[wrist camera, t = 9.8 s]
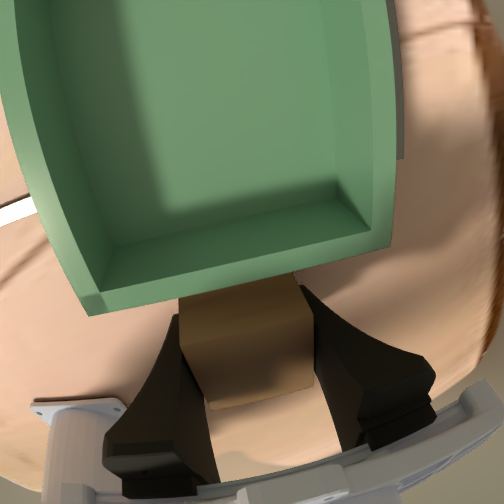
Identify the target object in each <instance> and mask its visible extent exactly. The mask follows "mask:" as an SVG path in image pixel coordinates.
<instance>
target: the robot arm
mask: <svg viewBox="0 0 504 504" xmlns="http://www.w3.org/2000/svg"><path fill="white" fill-rule="evenodd" d="M299 287H300V289H301V291H302V293H303V295H304V297H305V299H306V301H307V303H308V305H309V307H310V309H311V311H312V313H313V320H314V371H315V373H316V375H317V377H318V380H319V382H320V384H321V387H322V390H323V393H324V396H325V398H326V401H327V404H328V407H329V410H330V413H331V416H332V419H333V422H334V425H335V428H336V432H337V435H338V438H339V442H340V445H341V448H342V453H340V454H337V455H334V456H331V457H328V458H324V459H321V460H318V461H315V462H312V463H308V464H305V465H301V466H298V467H294V468H290V469H286V470H282V471H278V472H274V473H270V474H265V475H261V476H257V477H251V478H246V479H241V480H236V481H229V482H223V483H221V481H220V477H219V474H218V470H217V466H216V462H215V458H214V453H213V449H212V444H211V440H210V435H209V430H208V424H207V419H206V413H205V405H204V395H203V393H202V391H201V389H200V387H199V385H198V383H197V381H196V379H195V377H194V375H193V373H192V371H191V369H190V367H189V365H188V362H187V360H186V358H185V356H184V354H183V352H182V350H181V348H180V338H179V314H174V315H173V316H172V319H171V323H170V326H169V329H168V332H167V335H166V338H165V340H164V343H163V346H162V348H161V351H160V353H159V355H158V358H157V360H156V362H155V364H154V366H153V369H152V371H151V372H150V374H149V376H148V378H147V380H146V382H145V383H144V385H143V387H142V388H141V390H140V391H139V393H138V395H137V396H136V398H135V399H134V401H133V402H132V403H131V405H130V406H129V407H128V408H126V407H125V405H124V404H123V403H122V402H121V401H120V400H119V399H117V398H101V399H90V400H77V401H60V402H33V403H31V404H30V409H31V410H32V411H33V412H34V413H35V414H36V415H37V416H38V417H40V418H41V419H42V420H43V421H44V422H45V423H46V424H47V425H49V426H50V431H49V437H48V443H47V450H46V458H45V466H44V475H43V486H42V500H41V504H404V503H403V501H402V499H401V496H400V493H402V492H404V491H406V490H408V489H410V488H412V487H414V486H416V485H417V484H419V483H421V482H423V481H425V480H426V479H428V478H430V477H432V476H433V475H435V474H437V473H438V472H440V471H441V470H443V469H445V468H446V467H448V466H449V465H451V464H453V463H454V462H456V461H457V460H459V459H460V458H462V457H463V456H465V455H466V454H468V453H469V452H471V451H472V450H474V449H475V448H476V447H478V446H479V445H481V444H482V443H484V442H485V441H486V440H488V439H489V438H490V437H491V436H492V435H493V434H494V433H495V432H496V431H497V430H498V429H499V428H500V427H501V426H502V425H503V424H504V404H503V402H502V401H501V399H500V398H499V396H498V395H497V393H496V392H495V390H494V389H493V388H492V386H491V385H490V383H489V382H488V381H487V379H486V378H485V377H483V378H482V379H480V380H478V381H477V382H475V383H474V384H472V385H470V386H469V387H467V388H466V389H465V390H464V391H463V392H462V393H461V395H460V396H459V399H458V400H456V401H454V402H452V403H450V404H449V405H447V406H445V407H443V408H442V409H440V410H438V411H436V412H435V411H434V410H433V408H432V406H431V405H430V403H431V398H430V396H429V395H428V393H429V391H430V389H431V387H432V385H433V383H434V381H435V378H436V373H435V371H434V370H433V369H432V367H431V366H430V364H429V363H428V362H427V361H426V360H425V358H424V357H423V356H421V355H417V354H414V353H410V352H407V351H403V350H401V349H398V348H395V347H393V346H390V345H388V344H385V343H383V342H381V341H379V340H377V339H375V338H373V337H371V336H369V335H367V334H365V333H364V332H362V331H360V330H359V329H357V328H355V327H354V326H352V325H351V324H349V323H348V322H347V321H345V320H344V319H342V318H341V317H340V316H338V315H337V314H336V313H335V312H333V311H332V310H331V309H330V308H328V307H327V306H326V305H325V304H324V303H322V302H321V301H320V300H319V299H318V298H317V297H316V296H315V295H314V294H313V293H312V292H311V291H310V290H309V289H308V288H307V287H306V286H304V285H299Z"/></svg>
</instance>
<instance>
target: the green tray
mask: <svg viewBox="0 0 504 504" xmlns="http://www.w3.org/2000/svg"><path fill="white" fill-rule="evenodd" d="M0 94H1V98H2V103H3V107H4V112H5V116H6V120H7V124H8V127H9V131H10V135H11V138H12V142H13V145H14V149H15V152H16V155H17V158H18V162H19V165H20V168H21V171H22V174H23V176H24V179H25V182H26V185H27V188H28V190H29V193H30V196H31V198H32V201H33V204H34V206H35V209H36V211H37V214H38V216H39V218H40V221H41V223H42V225H43V228H44V230H45V232H46V235H47V237H48V239H49V241H50V244H51V246H52V248H53V250H54V252H55V254H56V256H57V258H58V260H59V262H60V265H61V267H62V269H63V271H64V273H65V274H66V276H67V278H68V280H69V282H70V284H71V286H72V288H73V290H74V292H75V293H76V295H77V297H78V299H79V301H80V302H81V304H82V306H83V308H84V309H85V311H86V313H87V315H88V316H94V315H99V314H104V313H109V312H114V311H119V310H124V309H129V308H134V307H139V306H143V305H148V304H153V303H158V302H162V301H167V300H171V299H176V298H181V297H185V296H190V295H194V294H199V293H203V292H208V291H212V290H217V289H221V288H225V287H230V286H234V285H238V284H243V283H247V282H251V281H256V280H260V279H264V278H268V277H272V276H277V275H281V274H285V273H289V272H293V271H297V270H301V269H305V268H309V267H313V266H317V265H321V264H325V263H329V262H333V261H337V260H341V259H345V258H349V257H353V256H357V255H361V254H364V253H368V252H372V251H376V250H380V249H383V248H387V247H390V245H391V235H392V224H393V212H394V197H395V177H396V100H395V81H394V67H393V55H392V45H391V36H390V28H389V21H388V14H387V7H386V1H385V0H0Z"/></svg>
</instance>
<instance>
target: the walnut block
mask: <svg viewBox="0 0 504 504" xmlns="http://www.w3.org/2000/svg"><path fill="white" fill-rule="evenodd" d="M178 301H179V338H180V348H181V350H182V352H183V354H184V356H185V358H186V360H187V362H188V365H189V367H190V369H191V371H192V373H193V375H194V377H195V379H196V381H197V383H198V385H199V387H200V389H201V391H202V393H203V395H204V397H205V399H206V401H207V402H208V404H209V406H210V408H211V410H212V411H213V410H218V409H223V408H228V407H233V406H238V405H243V404H247V403H252V402H256V401H260V400H264V399H268V398H272V397H276V396H280V395H284V394H288V393H291V392H295V391H299V390H302V389H306V388H309V387H312V386H314V320H313V313H312V311H311V309H310V307H309V305H308V303H307V301H306V299H305V297H304V295H303V293H302V291H301V289H300V287H299V285H298V283H297V281H296V279H295V277H294V275H293V273H292V272H289V273H285V274H281V275H277V276H272V277H268V278H264V279H260V280H256V281H251V282H247V283H243V284H238V285H234V286H230V287H225V288H221V289H217V290H212V291H208V292H203V293H199V294H194V295H190V296H185V297H181V298H178Z"/></svg>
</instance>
